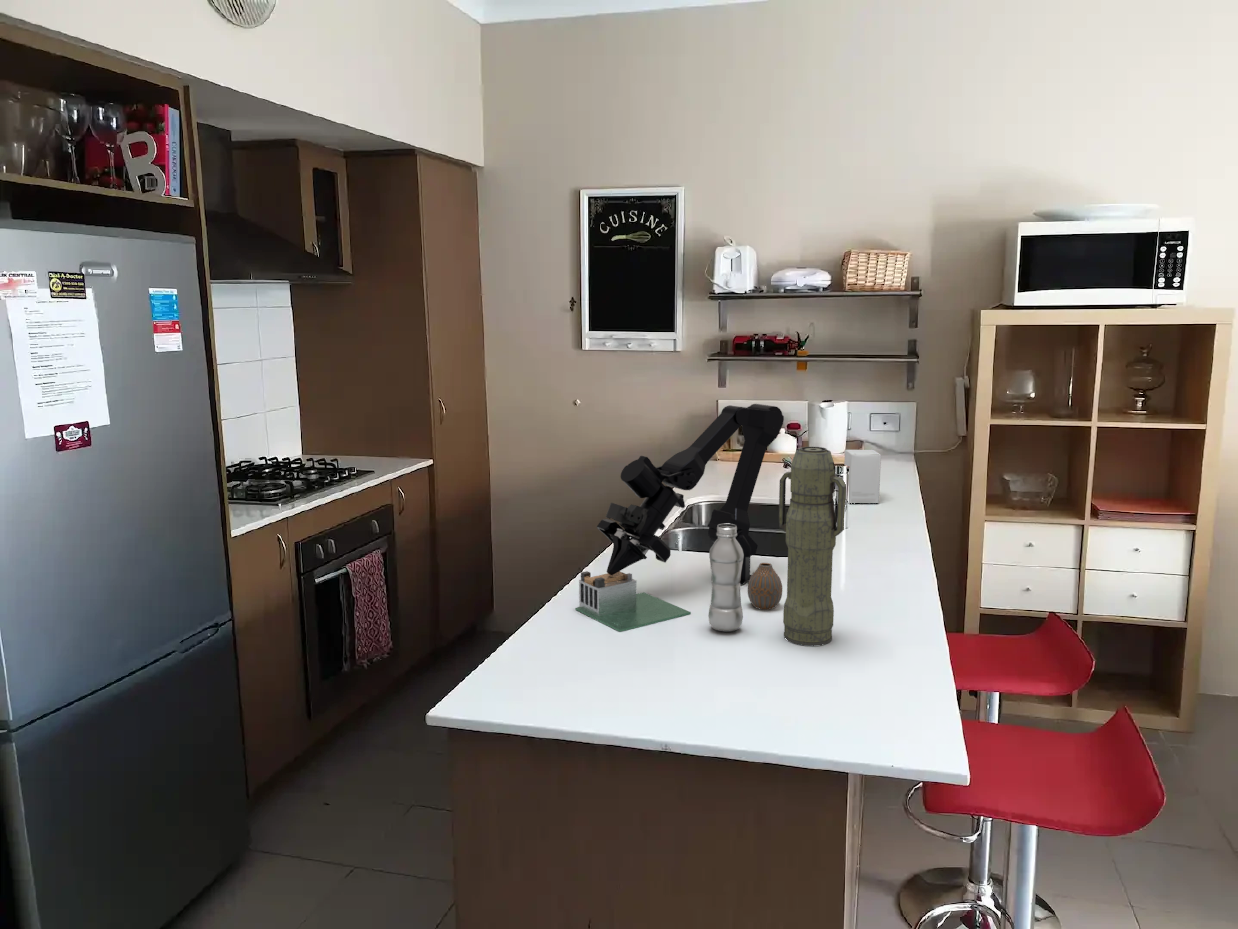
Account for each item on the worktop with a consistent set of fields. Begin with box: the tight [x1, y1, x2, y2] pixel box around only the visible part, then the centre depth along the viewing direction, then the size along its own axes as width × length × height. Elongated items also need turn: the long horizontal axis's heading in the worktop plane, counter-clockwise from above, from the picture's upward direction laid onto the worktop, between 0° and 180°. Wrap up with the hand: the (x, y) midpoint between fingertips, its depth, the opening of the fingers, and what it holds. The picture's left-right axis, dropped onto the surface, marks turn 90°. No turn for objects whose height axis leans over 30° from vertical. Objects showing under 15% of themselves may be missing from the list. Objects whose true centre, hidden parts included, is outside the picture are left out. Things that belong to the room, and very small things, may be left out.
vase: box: [747, 562, 783, 610], centre depth 193 cm, size 7×7×9 cm
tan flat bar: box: [584, 571, 627, 586], centre depth 191 cm, size 8×3×1 cm, turn 125°
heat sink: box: [575, 570, 692, 633], centre depth 190 cm, size 17×16×8 cm
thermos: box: [778, 446, 846, 647], centre depth 173 cm, size 9×12×35 cm
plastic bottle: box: [708, 524, 744, 632], centre depth 179 cm, size 6×7×20 cm
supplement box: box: [843, 449, 882, 505], centre depth 286 cm, size 9×9×15 cm
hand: (608, 573), depth 192 cm, fingers closed
